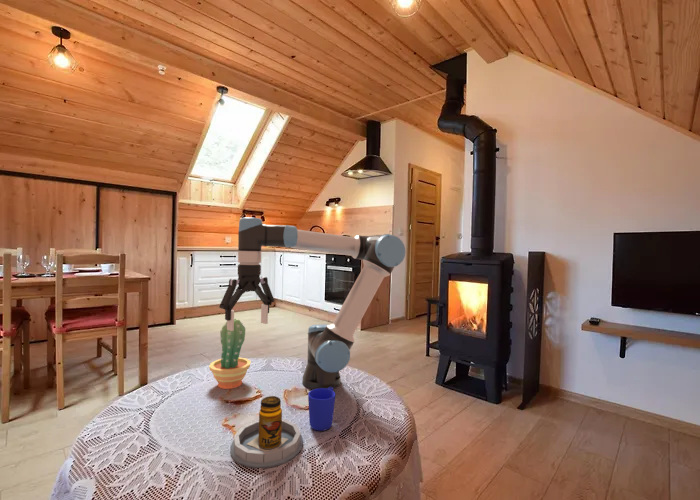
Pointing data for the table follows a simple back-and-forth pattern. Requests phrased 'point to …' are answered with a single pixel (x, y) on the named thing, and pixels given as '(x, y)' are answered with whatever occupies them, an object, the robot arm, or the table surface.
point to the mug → (321, 408)
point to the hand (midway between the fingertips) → (248, 326)
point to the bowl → (265, 458)
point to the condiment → (269, 425)
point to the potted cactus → (231, 358)
